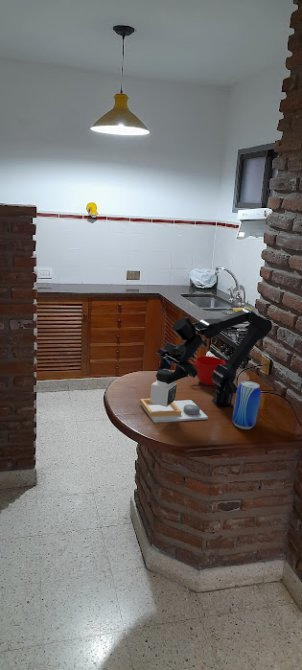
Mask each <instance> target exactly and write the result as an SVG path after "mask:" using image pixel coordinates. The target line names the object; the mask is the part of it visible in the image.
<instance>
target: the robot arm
mask: <svg viewBox="0 0 302 670" xmlns="http://www.w3.org/2000/svg"><path fill="white" fill-rule="evenodd" d="M244 323H249V324H248V326H247V331H246V335H245V336H244V337H243V339H242V340H241V342H240V343H239V344H238V346H237V347H236V349H235V350H234V351H233V352H232V354H231V355H230V357H229V358H228V359H227V361H225V364H224V365H220V364H219V365H218V366H217V367H216V369H215V370H214V371H213V374H212V381H213V382H214V385H213V386H214V387H216V388H215V391H214V393H213V399H211V401H212V402H213V403H214V404H215V405H216V406H217V408H218V407H219V408H225V407H226V408H229V407H230V408H231V407H234V404H233V403H232V402H233V395H234V394H237V388H238V386H237V385H236V384H235V383H234V382H235V380H236V377H237V371H238V369H239V368H240V366H241V365H242V364H243V362H244V361H245V359H246V358H247V356H248V355H249V354H250V353H251V350H252V349H253V348H254V346H255V345H256V344H257V343H258V342H259V341H260V340H262V339H263V338H266V336H267V335H268V334H269V333H270V332H271V331H272V329H273V323H272V321H271V320H270V319H268V318H266V317H264V316H261V315H258V314H257V313H256V312H254V311H253V310H251V309H249V308H243V309H240V310H239V311H236V312H232V313H230V314H227V315H224V316H221V317H218V318H206V319H200V320H199V321H198V322H194V323H192V321H191V319H190V318H189V317H187V316H184V317H183V318H180V319H178V320H176V321H174V323H173V324H172V326H171V327H172V330H173V332H174V333H175V334H176V335H177V336H178V337H179V339H180V340H182V341H183V342H182V343H178V344H173V343H171V342H169V341H166V343H165V345H164V347H163V348H162V347H161V348H158V350H157V351H156V355H158V357H159V358H160V364H159V367H158V370H161V369H168V370H170V369H171V368H172V366H171V364H172V363H173V364H174V365H175V368H174V370H173V371H172V372H173V374H172V375H171V376H170V377H169V379H168V380H167V382H166V383H167V384H170V383H172V382H174V383H175V382H176V381H179V380H181V379H182V380H183V379H185V378H189V377H191V378H193V379H195V378H196V377H197V376H196V375H197V372H198V371H197V370H196V368H195V366H194V365H192V364H191V363H190V362H189V361H190V359H193V360H194V359H195V357H196V356H195V354H196V352H197V351H198V350H199V349H200V348H201V346H202V347H204V348H207V347H208V343H207V341H208V340H212V339H213V338H216V336H219V335H220V334H221V332H223V331H224V330H225V331H226V330H227V329H229V328H232V327H233V328H234V327H235V326H236V327H237V326H238V325H241V324H244ZM202 336H203V337H204V338H203V337H202ZM207 339H208V340H207ZM158 370H157V371H158ZM155 378H157V373H156V374H155Z"/></svg>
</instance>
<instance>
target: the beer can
mask: <svg viewBox="0 0 302 670" xmlns="http://www.w3.org/2000/svg"><path fill="white" fill-rule="evenodd" d="M235 394H236V395H235V401H234V404H233V413H232V418H231V421H232V423H233V425H234V426H235V427H237V428H238V429H241V430H250V429H252V428H253V427H254V426H255V425H256V422H257V417H258V411H259V405H260V402H261V395H262V391H261V389H260V384H259V383H257V382H254V381H251V380H243V381H241V382H240V384H239V385H238V386H237V391H236V393H235Z"/></svg>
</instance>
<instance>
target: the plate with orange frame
mask: <svg viewBox="0 0 302 670" xmlns="http://www.w3.org/2000/svg"><path fill="white" fill-rule="evenodd" d="M139 404H140V406H141V407H142V408H143V409H144V411H145V412H146V414H147V415H148V417H150V419H151V420H152V421H153V422H154V423H157V424H158V423H168V422H169V423H170V422H183V421H184V422H186V421H198V420H199V421H201V420H202V421H203V420H208V419H209V416H207V414H205V413H204V411H203V410H201V408H200V407H199V406H198V405H197V404H196V403H195V402H194V401H192V400H191V399H184V400H175V401H174V402H172V403H171V404H170V405H169V406H168V407H165V406H162V405H158V404H155V403H152V402H150V398H140V399H139Z"/></svg>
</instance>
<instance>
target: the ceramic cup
mask: <svg viewBox="0 0 302 670" xmlns="http://www.w3.org/2000/svg"><path fill="white" fill-rule="evenodd" d="M189 363H191V364H192V365H193V366H194V367H195V368H196V370H197V371H198V372H197V375H196V376H195V377H196V378H197V379H198V380H199V382H200V383H201V384H203V385H205V386H206V385H207V386H214V382H213V381H212V374H213V371H214V370H215V369H216V367H217V366H218V365H219V364H220V365H224V364H225V363H226V361H225V360H223V359H221V358H220V357H219V358H218V357H215V356H210V355H209V356H208V355H201V356H197V357H196V358H195V362H189Z"/></svg>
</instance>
